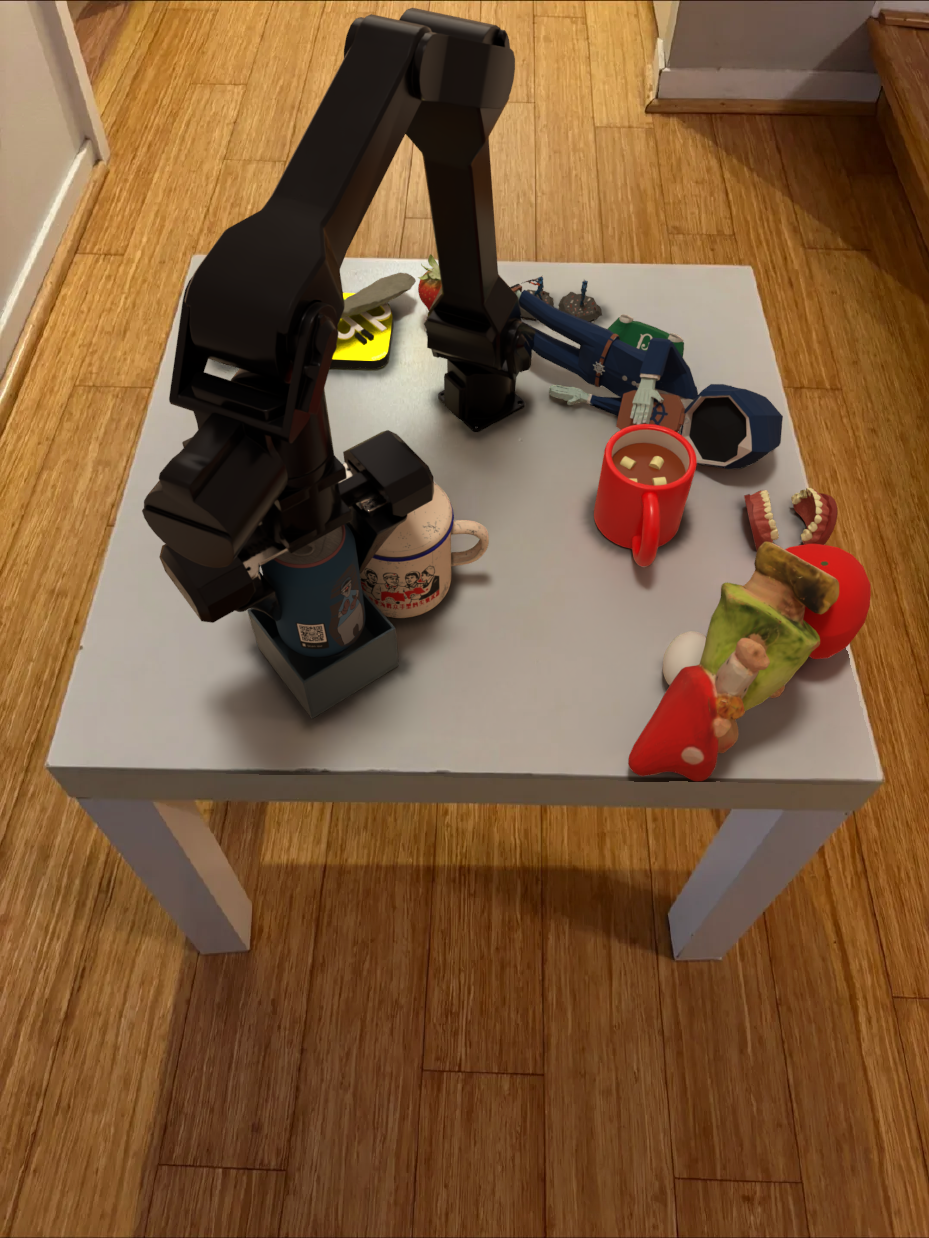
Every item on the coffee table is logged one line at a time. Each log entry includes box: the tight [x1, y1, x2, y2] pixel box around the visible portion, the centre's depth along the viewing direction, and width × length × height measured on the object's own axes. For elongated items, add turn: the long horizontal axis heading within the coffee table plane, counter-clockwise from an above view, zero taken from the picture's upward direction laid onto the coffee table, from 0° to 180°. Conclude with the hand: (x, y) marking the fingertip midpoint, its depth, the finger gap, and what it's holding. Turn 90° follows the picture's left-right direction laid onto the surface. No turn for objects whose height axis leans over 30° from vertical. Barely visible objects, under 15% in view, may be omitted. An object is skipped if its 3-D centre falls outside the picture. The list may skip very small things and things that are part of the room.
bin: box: [246, 590, 399, 720], centre depth 79 cm, size 8×8×6 cm
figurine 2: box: [627, 541, 839, 782], centre depth 73 cm, size 11×9×20 cm
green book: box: [607, 313, 685, 358], centre depth 100 cm, size 9×4×6 cm
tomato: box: [785, 544, 872, 660], centre depth 80 cm, size 9×10×8 cm
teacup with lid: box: [360, 482, 490, 619], centre depth 81 cm, size 12×9×12 cm
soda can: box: [260, 524, 366, 658], centre depth 73 cm, size 7×7×12 cm
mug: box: [593, 424, 698, 568], centre depth 85 cm, size 8×12×8 cm, turn 179°
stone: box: [341, 272, 417, 318], centre depth 103 cm, size 13×2×5 cm
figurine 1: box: [509, 283, 784, 470], centre depth 93 cm, size 12×12×30 cm
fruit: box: [417, 253, 442, 312], centre depth 102 cm, size 5×5×8 cm
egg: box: [662, 631, 706, 686], centre depth 79 cm, size 4×6×4 cm, turn 156°
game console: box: [330, 292, 394, 370], centre depth 104 cm, size 18×11×2 cm, turn 89°
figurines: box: [520, 275, 603, 322], centre depth 105 cm, size 10×5×4 cm, turn 85°
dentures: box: [743, 487, 838, 552], centre depth 88 cm, size 6×4×8 cm
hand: (316, 592), depth 74 cm, fingers closed on soda can, 7 cm apart
